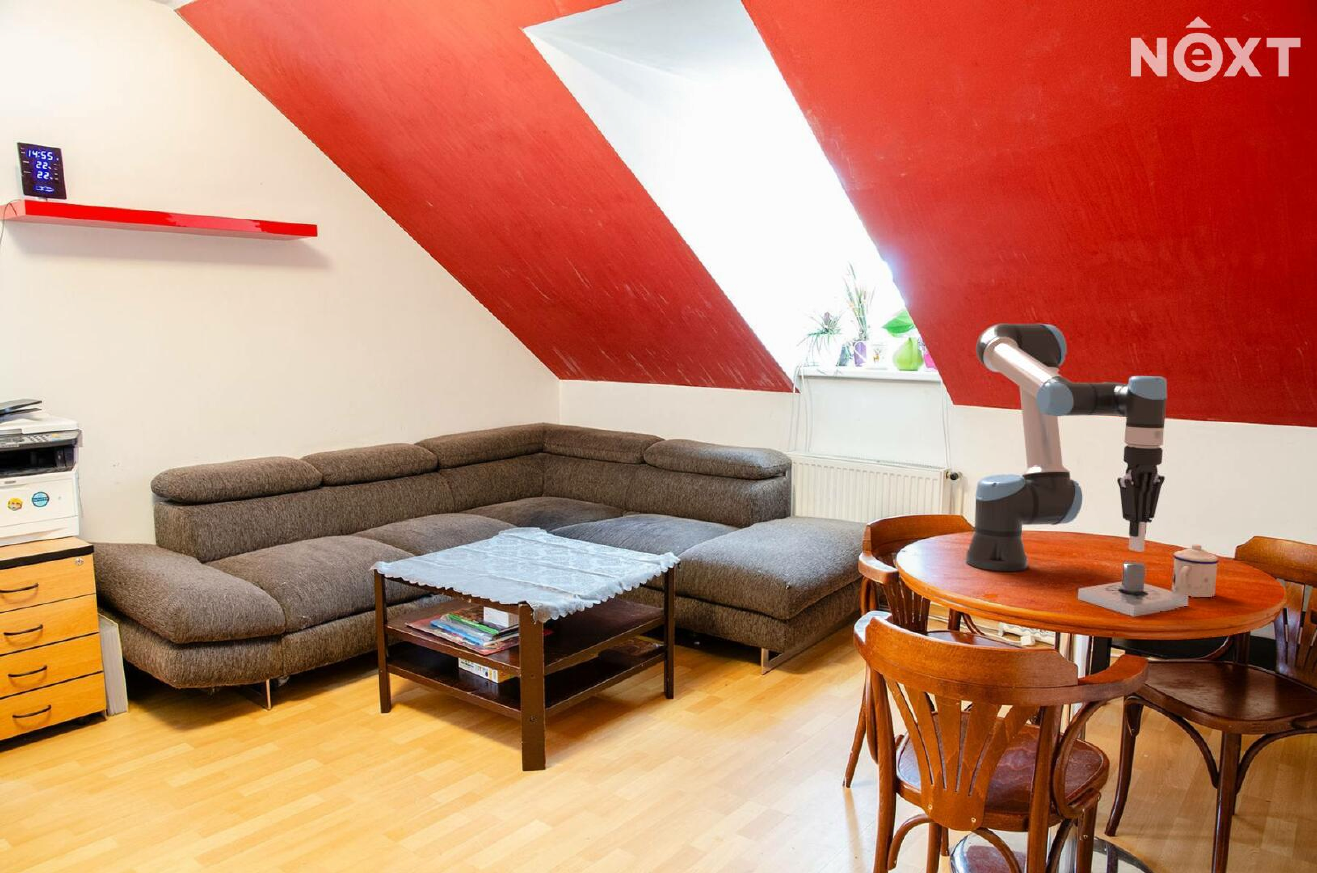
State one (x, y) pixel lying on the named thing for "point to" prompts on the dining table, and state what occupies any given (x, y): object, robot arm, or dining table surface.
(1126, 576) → the grey upright prism
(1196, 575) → the teacup with lid
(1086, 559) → the dining table surface
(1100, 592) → the tile
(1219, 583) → the dining table surface
